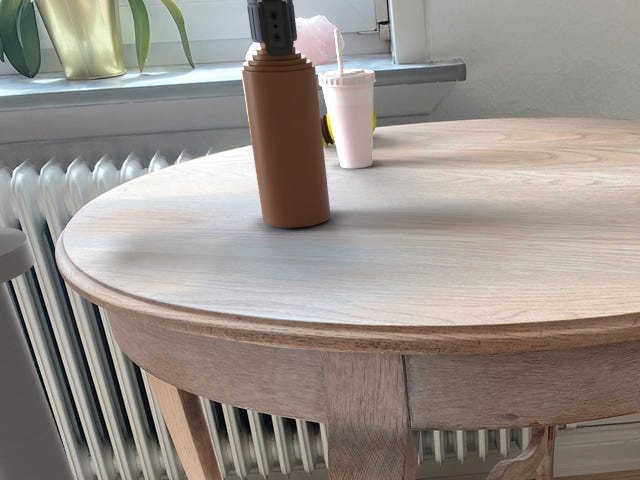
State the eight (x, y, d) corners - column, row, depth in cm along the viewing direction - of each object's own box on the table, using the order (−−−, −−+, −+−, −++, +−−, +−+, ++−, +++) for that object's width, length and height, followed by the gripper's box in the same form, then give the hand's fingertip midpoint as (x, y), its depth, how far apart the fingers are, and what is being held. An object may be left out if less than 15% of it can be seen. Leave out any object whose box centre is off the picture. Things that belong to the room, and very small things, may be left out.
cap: (251, 39, 77) (246, -4, 76) (296, 37, 78) (291, -6, 76) (252, 43, 74) (246, -1, 73) (298, 42, 75) (293, -3, 73)
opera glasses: (345, 139, 120) (334, 100, 117) (381, 131, 118) (370, 91, 115) (319, 156, 112) (306, 114, 109) (357, 147, 110) (344, 104, 108)
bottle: (260, 229, 82) (228, 12, 72) (265, 210, 87) (236, 5, 77) (330, 225, 82) (307, 10, 73) (331, 207, 88) (309, 4, 78)
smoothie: (321, 163, 105) (303, 29, 97) (371, 156, 107) (358, 24, 99) (340, 174, 100) (323, 33, 92) (392, 165, 102) (380, 28, 94)
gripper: (292, -216, 62) (325, 60, 71) (296, -194, 73) (324, 40, 83) (182, -213, 61) (230, 65, 71) (204, -192, 72) (243, 45, 82)
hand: (281, 50), depth 77 cm, fingers closed on cap, 3 cm apart
